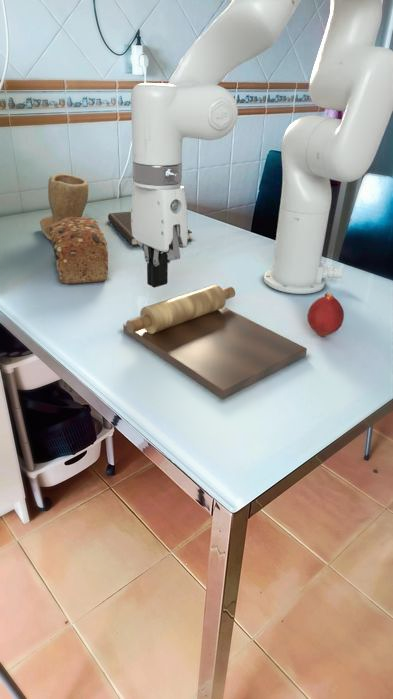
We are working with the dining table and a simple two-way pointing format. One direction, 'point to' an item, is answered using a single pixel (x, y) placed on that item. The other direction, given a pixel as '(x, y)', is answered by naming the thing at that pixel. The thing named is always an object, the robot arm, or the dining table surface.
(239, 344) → the pastry board
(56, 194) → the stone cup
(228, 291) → the rolling pin
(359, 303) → the dining table surface
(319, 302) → the onion
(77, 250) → the bread
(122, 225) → the hardcover book
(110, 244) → the dining table surface
